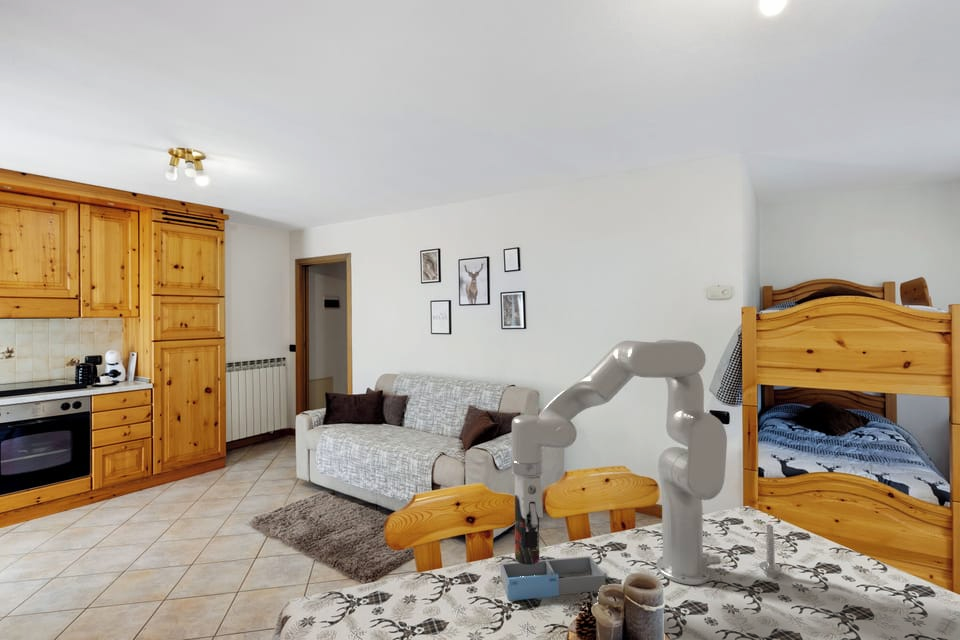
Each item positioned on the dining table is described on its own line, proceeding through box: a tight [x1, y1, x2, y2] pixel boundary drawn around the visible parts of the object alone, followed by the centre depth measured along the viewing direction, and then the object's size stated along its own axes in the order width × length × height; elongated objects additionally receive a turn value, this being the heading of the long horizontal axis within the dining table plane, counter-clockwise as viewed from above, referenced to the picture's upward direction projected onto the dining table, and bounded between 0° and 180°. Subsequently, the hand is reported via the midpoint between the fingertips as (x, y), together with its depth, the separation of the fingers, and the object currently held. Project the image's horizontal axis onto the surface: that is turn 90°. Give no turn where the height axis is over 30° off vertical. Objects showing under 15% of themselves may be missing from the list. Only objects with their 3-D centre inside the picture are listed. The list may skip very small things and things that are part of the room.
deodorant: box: [514, 494, 540, 565], centre depth 110 cm, size 6×6×15 cm
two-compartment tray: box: [499, 555, 606, 602], centre depth 111 cm, size 24×10×5 cm, turn 98°
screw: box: [758, 523, 783, 579], centre depth 114 cm, size 13×5×5 cm
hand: (527, 539), depth 110 cm, fingers closed on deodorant, 5 cm apart
